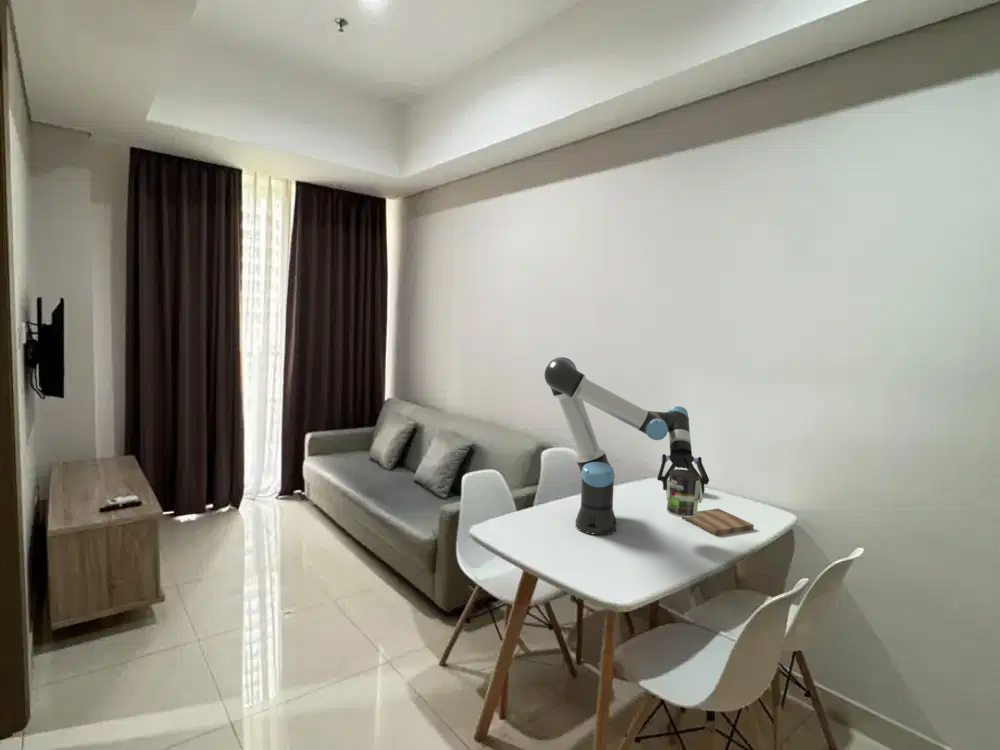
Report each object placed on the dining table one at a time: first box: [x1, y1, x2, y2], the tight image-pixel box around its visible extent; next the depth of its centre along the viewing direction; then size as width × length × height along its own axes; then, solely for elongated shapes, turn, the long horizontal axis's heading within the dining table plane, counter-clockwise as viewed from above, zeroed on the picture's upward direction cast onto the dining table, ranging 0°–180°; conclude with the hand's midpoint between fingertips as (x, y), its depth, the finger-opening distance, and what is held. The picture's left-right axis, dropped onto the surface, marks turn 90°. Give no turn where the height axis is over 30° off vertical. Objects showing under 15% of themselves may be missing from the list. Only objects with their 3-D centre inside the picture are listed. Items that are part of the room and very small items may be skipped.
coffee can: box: [666, 468, 701, 518], centre depth 191 cm, size 10×10×14 cm
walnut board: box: [681, 508, 754, 537], centre depth 209 cm, size 18×18×2 cm
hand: (684, 499), depth 188 cm, fingers closed on coffee can, 10 cm apart
